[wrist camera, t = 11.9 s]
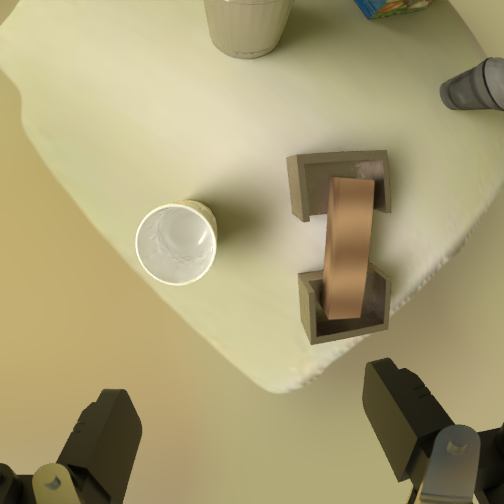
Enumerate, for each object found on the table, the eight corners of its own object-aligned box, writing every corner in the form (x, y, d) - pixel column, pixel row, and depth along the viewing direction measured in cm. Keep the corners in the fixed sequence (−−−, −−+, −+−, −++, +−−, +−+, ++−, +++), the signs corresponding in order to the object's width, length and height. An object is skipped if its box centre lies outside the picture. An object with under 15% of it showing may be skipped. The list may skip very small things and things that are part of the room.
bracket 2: (369, 308, 42) (388, 329, 36) (300, 320, 42) (310, 345, 36) (370, 263, 40) (391, 278, 34) (297, 273, 40) (308, 292, 34)
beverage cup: (434, 113, 35) (537, 96, 16) (430, 68, 33) (523, 34, 14) (467, 122, 35) (565, 116, 16) (464, 80, 33) (555, 59, 14)
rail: (329, 176, 34) (340, 177, 30) (360, 178, 34) (374, 180, 30) (320, 305, 38) (328, 319, 34) (349, 304, 38) (360, 317, 34)
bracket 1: (286, 157, 36) (296, 154, 30) (364, 152, 36) (386, 150, 30) (292, 213, 38) (303, 222, 32) (368, 205, 38) (391, 212, 32)
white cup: (173, 185, 36) (151, 191, 27) (231, 210, 37) (230, 224, 28) (151, 242, 38) (125, 266, 28) (207, 266, 39) (198, 297, 30)
